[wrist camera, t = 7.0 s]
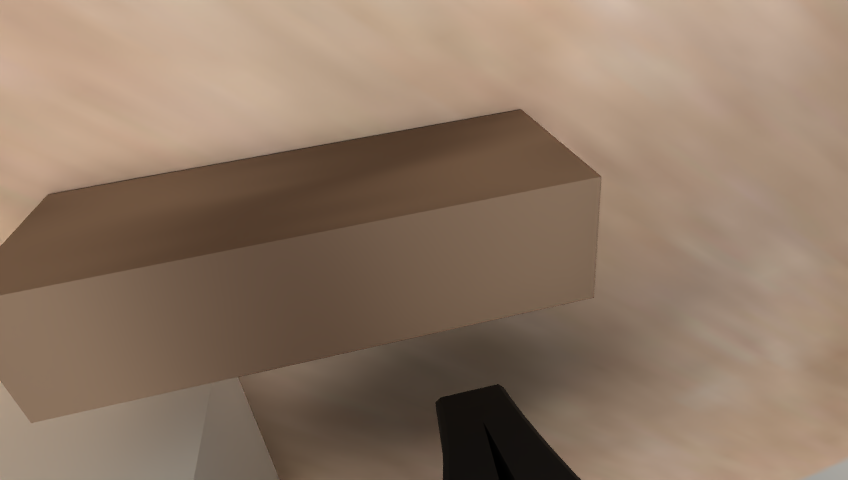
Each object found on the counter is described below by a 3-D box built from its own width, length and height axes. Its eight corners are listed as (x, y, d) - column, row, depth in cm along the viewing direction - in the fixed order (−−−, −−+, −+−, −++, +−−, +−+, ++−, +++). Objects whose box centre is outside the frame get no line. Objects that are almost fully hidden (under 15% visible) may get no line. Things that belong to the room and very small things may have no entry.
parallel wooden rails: (521, 109, 10) (601, 176, 7) (529, 507, 16) (573, 619, 13) (47, 194, 9) (-56, 306, 6) (253, 580, 15) (244, 715, 12)
